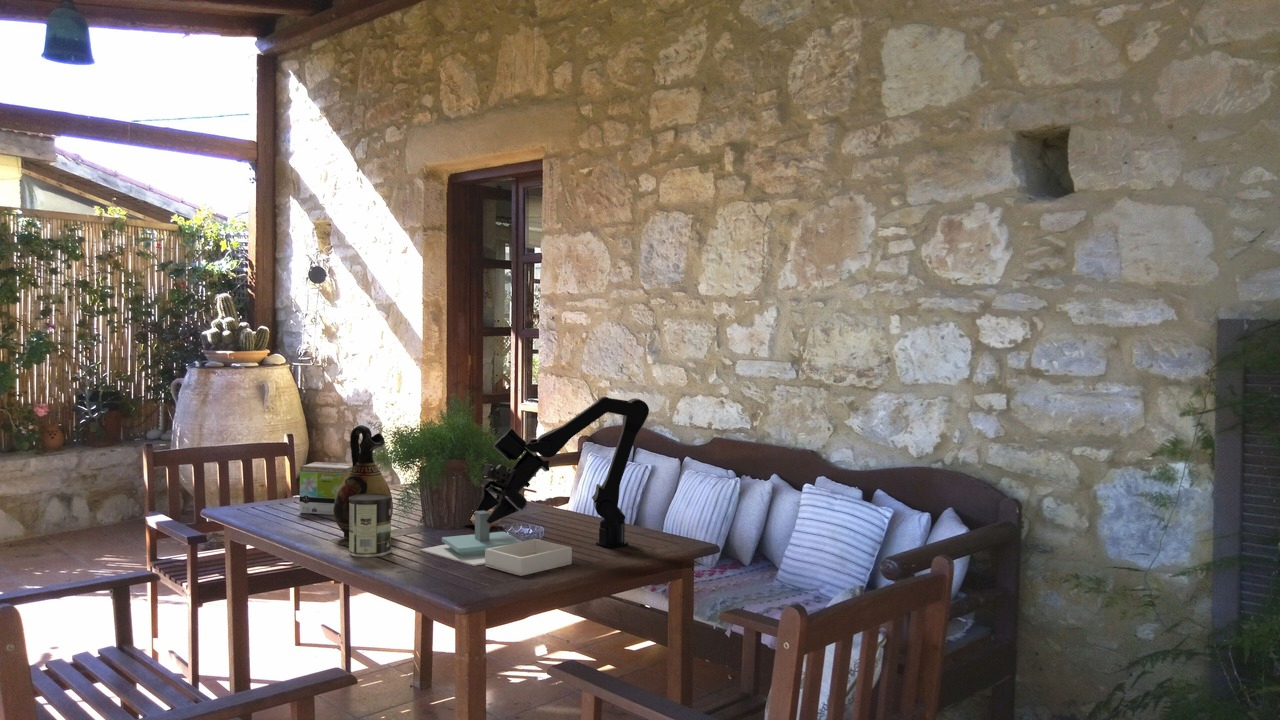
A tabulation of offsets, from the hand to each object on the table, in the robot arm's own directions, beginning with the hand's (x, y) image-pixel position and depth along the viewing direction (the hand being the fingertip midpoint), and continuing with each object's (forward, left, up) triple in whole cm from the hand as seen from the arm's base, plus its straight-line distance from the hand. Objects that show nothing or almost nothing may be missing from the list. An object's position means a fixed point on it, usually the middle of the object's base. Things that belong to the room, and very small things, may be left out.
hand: (481, 519), depth 233 cm
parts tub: (+1, +19, -8) cm, 21 cm away
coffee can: (+21, -18, -8) cm, 29 cm away
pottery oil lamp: (-19, -24, -8) cm, 32 cm away
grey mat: (0, 0, -8) cm, 8 cm away
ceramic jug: (+13, -35, -8) cm, 38 cm away
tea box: (+1, -73, -8) cm, 73 cm away
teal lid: (0, 0, -8) cm, 8 cm away
